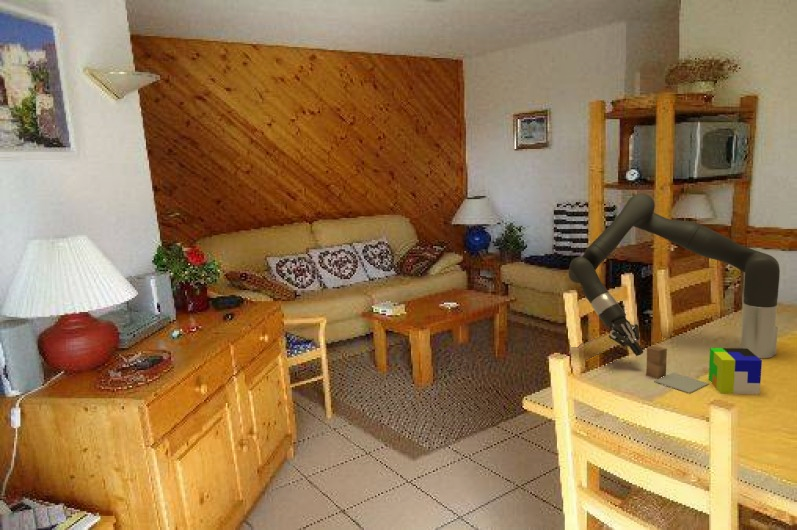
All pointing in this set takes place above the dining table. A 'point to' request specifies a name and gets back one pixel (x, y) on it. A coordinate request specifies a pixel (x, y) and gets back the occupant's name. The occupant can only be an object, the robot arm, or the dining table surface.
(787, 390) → the dining table surface
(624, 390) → the dining table surface
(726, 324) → the dining table surface
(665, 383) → the felt mat
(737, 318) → the dining table surface
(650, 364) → the walnut block
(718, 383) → the puzzle toy
